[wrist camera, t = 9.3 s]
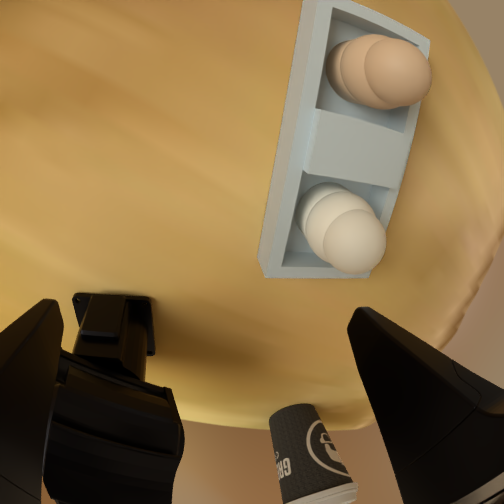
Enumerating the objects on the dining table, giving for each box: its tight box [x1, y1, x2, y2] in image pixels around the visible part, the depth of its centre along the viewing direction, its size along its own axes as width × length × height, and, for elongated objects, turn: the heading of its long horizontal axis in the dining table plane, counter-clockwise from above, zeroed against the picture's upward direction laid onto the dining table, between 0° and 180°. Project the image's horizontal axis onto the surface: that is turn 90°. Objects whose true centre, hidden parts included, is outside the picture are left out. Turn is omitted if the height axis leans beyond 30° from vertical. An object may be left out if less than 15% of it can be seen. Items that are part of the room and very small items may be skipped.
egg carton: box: [257, 0, 430, 278], centre depth 17 cm, size 18×8×3 cm, turn 171°
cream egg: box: [295, 182, 386, 274], centre depth 17 cm, size 5×5×6 cm
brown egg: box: [326, 34, 432, 110], centre depth 13 cm, size 5×5×6 cm
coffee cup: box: [269, 404, 358, 504], centre depth 29 cm, size 10×10×15 cm
